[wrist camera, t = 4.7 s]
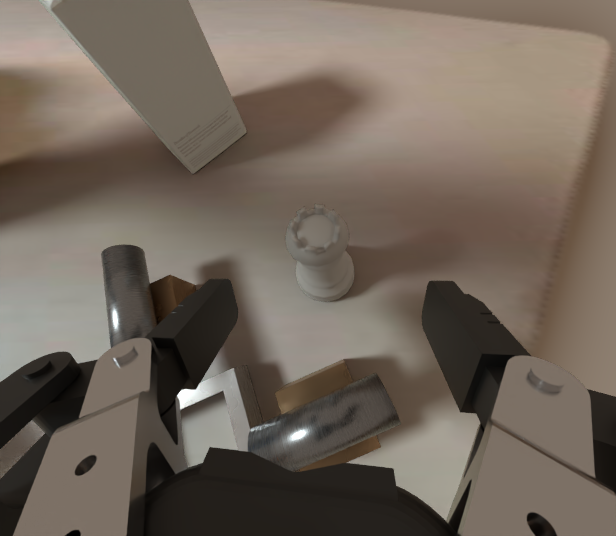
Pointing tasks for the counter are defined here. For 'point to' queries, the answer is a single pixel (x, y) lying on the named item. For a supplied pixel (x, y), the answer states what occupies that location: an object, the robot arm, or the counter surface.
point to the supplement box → (158, 70)
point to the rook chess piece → (320, 253)
